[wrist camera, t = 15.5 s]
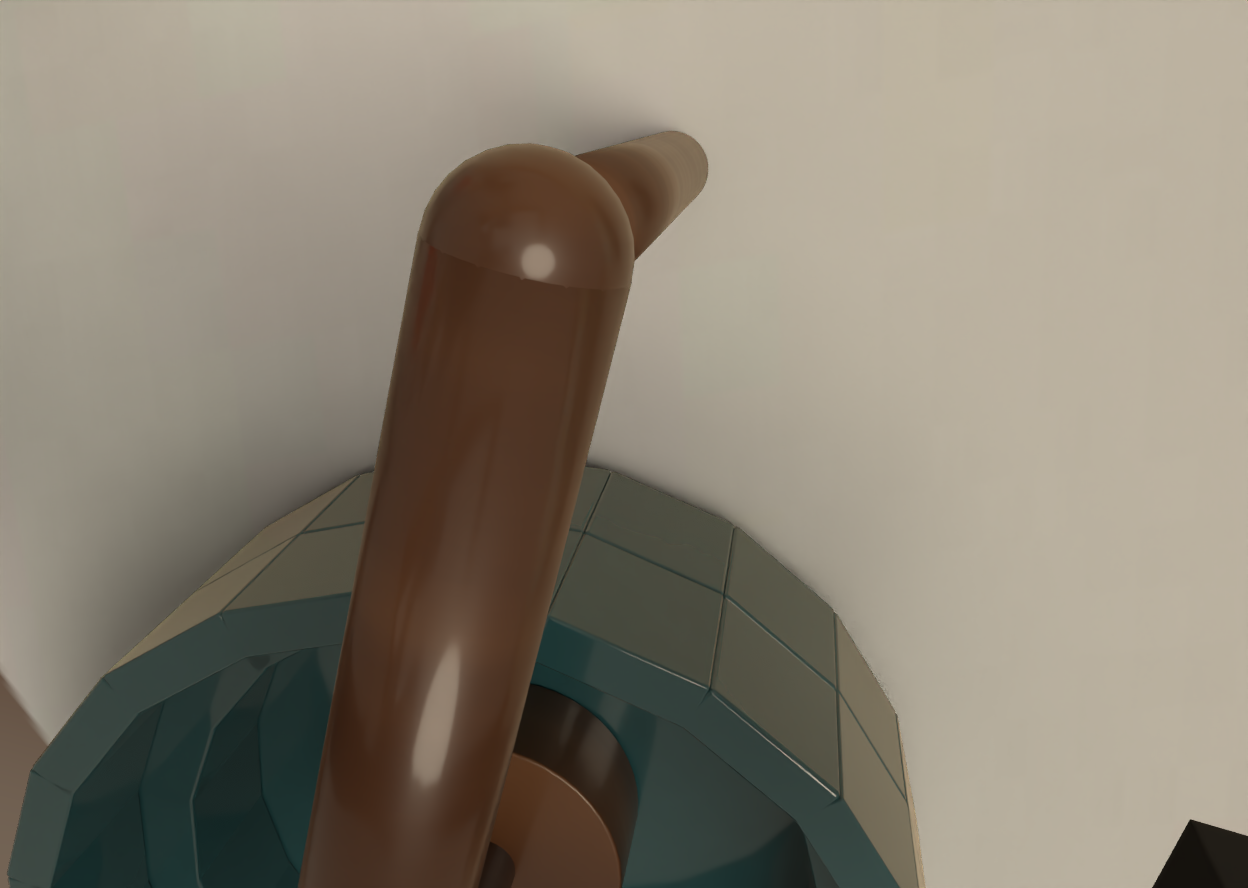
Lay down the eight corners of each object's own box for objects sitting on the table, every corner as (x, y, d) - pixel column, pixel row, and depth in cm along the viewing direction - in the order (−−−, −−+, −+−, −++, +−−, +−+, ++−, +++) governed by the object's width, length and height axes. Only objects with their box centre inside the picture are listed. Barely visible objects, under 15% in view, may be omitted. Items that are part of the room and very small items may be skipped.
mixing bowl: (57, 640, 24) (-165, 822, 19) (657, 298, 19) (595, 407, 14) (450, 1123, 28) (359, 1397, 22) (1040, 936, 23) (1114, 1227, 17)
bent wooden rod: (538, 79, 18) (147, 50, 7) (839, 159, 18) (919, 259, 7) (375, 852, 24) (6, 1523, 13) (604, 924, 23) (436, 1676, 12)
